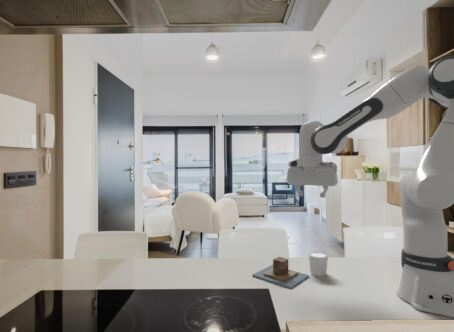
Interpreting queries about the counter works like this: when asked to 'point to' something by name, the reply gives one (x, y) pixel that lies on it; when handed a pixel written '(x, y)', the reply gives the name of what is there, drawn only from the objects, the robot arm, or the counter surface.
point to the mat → (288, 284)
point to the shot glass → (318, 263)
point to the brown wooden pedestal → (280, 270)
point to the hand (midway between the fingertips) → (311, 196)
